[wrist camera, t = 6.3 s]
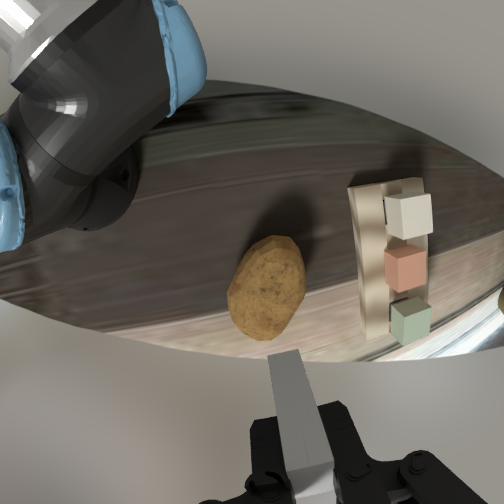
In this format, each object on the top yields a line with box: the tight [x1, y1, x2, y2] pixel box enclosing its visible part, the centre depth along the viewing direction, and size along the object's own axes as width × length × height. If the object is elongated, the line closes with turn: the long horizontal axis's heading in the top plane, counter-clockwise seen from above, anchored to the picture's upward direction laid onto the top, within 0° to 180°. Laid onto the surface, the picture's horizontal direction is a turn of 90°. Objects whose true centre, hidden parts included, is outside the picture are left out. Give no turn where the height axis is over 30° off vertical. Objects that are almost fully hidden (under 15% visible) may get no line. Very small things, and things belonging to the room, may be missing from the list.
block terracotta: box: [384, 244, 426, 293], centre depth 37 cm, size 5×5×6 cm
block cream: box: [384, 192, 433, 240], centre depth 33 cm, size 5×5×6 cm
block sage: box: [390, 297, 432, 346], centre depth 37 cm, size 5×5×6 cm
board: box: [347, 177, 428, 340], centre depth 39 cm, size 24×12×2 cm, turn 12°
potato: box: [227, 235, 307, 341], centre depth 36 cm, size 10×14×8 cm
